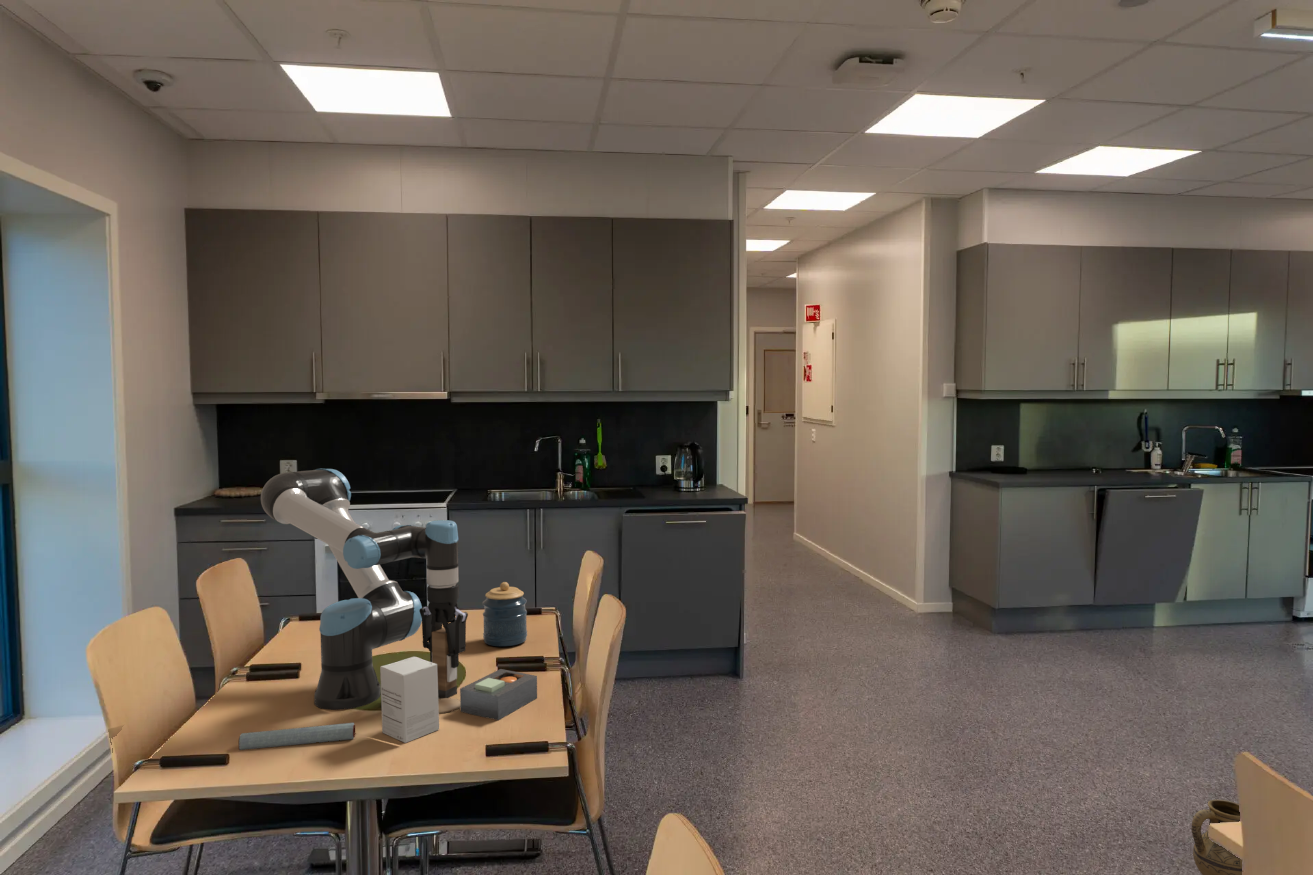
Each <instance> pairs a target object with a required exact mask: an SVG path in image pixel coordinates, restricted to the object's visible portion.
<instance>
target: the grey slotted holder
mask: <svg viewBox="0 0 1313 875" xmlns="http://www.w3.org/2000/svg"><path fill="white" fill-rule="evenodd" d="M504 677H516V678H517V680H516V681H514V682H512V683H508V682H505V686H504V687H502V688H500V689H498V690H496V691H494V692H492V693H491V692H487V691H482V690H477V689H475V684H477V683H479V682H481V681H483V680H485V679H487V678H492V679H497V680H500V679H501V678H504ZM459 693H460V694H459V697H460V698H459V700H460V713H464V714H469V715H474V716H477V717H482V718H487V719H491V720H494V721H495V720H496V721H500V720H502V719H503V718H505V717H507V716H508V715H510V714H512V713H514V712H516V711H517V710H519V709H521V708H522V707H524V706H526V705H528V704H530V703H532V702H533V701H535V700H537V699H538V675H534V674H529V673H523V672H519V671H514V670H507V669H504V668H503V669H502V668H500V669H498V670H495V671H494V672H492V673H489V674H488V675H485V676H483V677H481V678H478V679H476V680H475V681H473V682H471V683H469V684H467V685H465V686H462V687H460V689H459Z"/></svg>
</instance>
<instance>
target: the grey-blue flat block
mask: <svg viewBox="0 0 1313 875" xmlns="http://www.w3.org/2000/svg"><path fill="white" fill-rule="evenodd" d="M355 738H356V725H355V723H354V722H345V723H336V724H327V725H314V726H306V727H304V726H303V727H296V728H294V727H293V728H287V729H286V728H283V729H274V730H272V729H271V730H263V731H255V732H253V731H252V732H251V731H250V732H243V733H240V735H239V738H238V748H239V751H243V750H252V749H265V748H274V747H275V748H276V747H285V746H296V745H305V744H315V743H316V742H319V743H326V742H328V741H329V742H340V741H350V740H354V739H355ZM339 740H340V741H339Z"/></svg>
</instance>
